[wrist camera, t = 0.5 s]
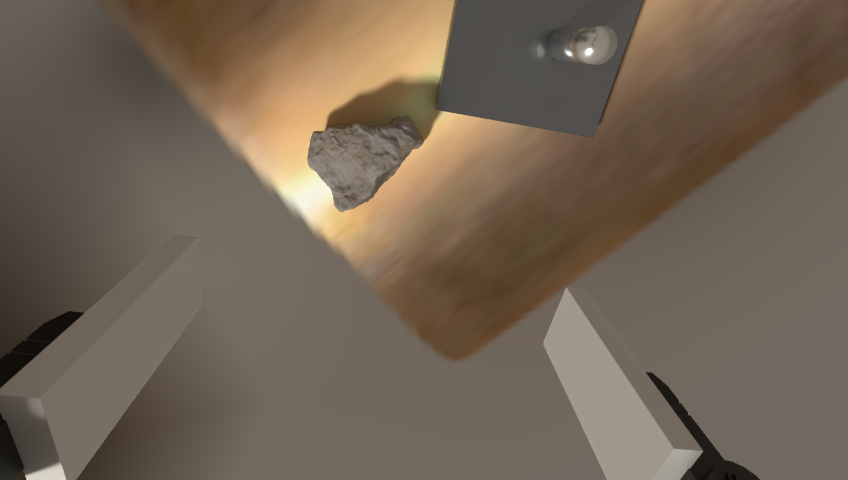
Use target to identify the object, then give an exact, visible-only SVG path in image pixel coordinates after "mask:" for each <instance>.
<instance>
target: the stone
mask: <svg viewBox="0 0 848 480" xmlns="http://www.w3.org/2000/svg"><path fill="white" fill-rule="evenodd" d="M423 142H424V141H423V139H422V137H421V135H420V134H419V133H418V131H417V130H416V128H415V126H414V124H413V122H411V121H410V118H409V116H405V117H398V118H396V119H394V121H393V122H392V123H390V124H388V125H385V126H375V127H370V126H365V125H364V124H361V123H355V124H352V125H350V126H342V125H335V126H331V127H328V128H327V129H326V130H325V131H315V132H313V134H312V136H311V140H310V147H309V150H308V157H307V159H308V164H309V167H310V168H311V169H313V170H314V171H316V172H317V173H318V175H319V176H320V178H321V179H322V180H323V181H324V182H325V183H326V184H327V185H328V186H329V187H330V188H331V190H332V194H333V199H334V206H335V207H336V208H337V209H338V210H339V211H340V212H343V211H345V210H350V209H354V208H356V207H357V206H358V205H360V204H363V203H364V202H368V201H369V200H370V199H372V198H373V196H374V195H375V193H376V192H377V191H378V189H379V187H380V186H381V185H382V184H383V183H384V182H386V181H387V180H388V179H389V178H390V177H391V176H393V175H394V173H395V172H396V169H397V168H399V167H400V165H401V163H402V161H404V160H405V158H406V157H407V156H408V155H409V154H410V152H411V151H412V149H418V148H419V147H420V146H421V145H422V144H423Z"/></svg>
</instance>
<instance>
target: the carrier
mask: <svg viewBox="0 0 848 480" xmlns="http://www.w3.org/2000/svg"><path fill="white" fill-rule="evenodd" d="M642 1H643V0H455V1H454V7H453V12H452V18H451V23H450V29H449V34H448V40H447V45H446V51H445V56H444V61H443V67H442V72H441V78H440V83H439V89H438V94H437V100H436V105H435V108H436V110H441V111H446V112H452V113H457V114H463V115H469V116H474V117H480V118H485V119H491V120H497V121H502V122H508V123H513V124H519V125H525V126H530V127H536V128H541V129H547V130H553V131H558V132H564V133H569V134H575V135H581V136H586V137H592V138H593V137H594V134H595V132H596V129H597V126H598V123H599V121H600V118H601V115H602V112H603V110H604V107H605V104H606V101H607V98H608V96H609V93H610V90H611V87H612V85H613V82H614V79H615V76H616V74H617V71H618V68H619V65H620V62H621V60H622V57H623V54H624V51H625V49H626V46H627V43H628V40H629V37H630V35H631V32H632V29H633V26H634V24H635V21H636V18H637V15H638V13H639V10H640V7H641V4H642Z"/></svg>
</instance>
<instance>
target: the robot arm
mask: <svg viewBox="0 0 848 480" xmlns="http://www.w3.org/2000/svg"><path fill="white" fill-rule="evenodd" d="M198 244H199V243H198V237H191V236H184V235H176V234H173V235H172V236H171V237H170V238H169V239H167V241H165V242H164V243H163V244H162V245H161V246H160V247H158V248H157V249H156V250H155V251H154V252H153V253H152V254H151V255H149V257H147V258H146V259H145V260H144V261H143V262H142V263H141V264H139V265H138V266H137V267H136V268H135V269H134V270H133V271H132V272H130V273H129V274H128V275H127V276H126V277H125V278H124V279H123V280H121V281H120V282H119V283H118V284H117V285H116V286H115V287H114V288H112V289H111V290H110V291H109V292H108V293H107V294H106V295H105V296H103V297H102V298H101V299H100V300H99V301H98V302H97V303H96V304H94V305H93V306H92V307H91V308H90V309H89V310H88V311H87V312H85V313H81V312H71V311H68V312H66V313H64V314H62V315H60V316H58V317H56V318H54V319H52V320H50V321H48V322H46V323H44V324H43V325H42V326H40V327H39V328H38V329H37V330H35V331H34V332H33V333H32V334H31V335H29V336H28V337H27V338H26V341H22V342H21V343H20V344H18V345H17V346H16V347H15V348H13V349H12V350H11V353H10V354H6V355H5V356H4V357H2V358H1V359H0V480H14V479H15V478H16V477H17V476H18V475H19V473H20V472H21V471H22V470H23V471H24V473H25V476H26V479H27V480H76V479H77V477H78V476H79V475H80V473H81V472H82V470H83V469H84V467H85V466H86V465H87V464H88V462H89V461H90V459H91V458H92V457H93V455H94V454H95V452H96V451H97V450H98V448H99V447H100V446H101V444H102V443H103V441H104V440H105V439H106V437H107V436H108V434H109V433H110V432H111V430H112V429H113V427H114V426H115V425H116V423H117V422H118V421H119V419H120V418H121V417H122V415H123V414H124V412H125V411H126V410H127V408H128V407H129V405H130V404H131V403H132V401H133V400H134V399H135V397H136V396H137V394H138V393H139V392H140V390H141V389H142V387H143V386H144V385H145V383H146V382H147V381H148V379H149V378H150V376H151V375H152V374H153V372H154V371H155V369H156V368H157V367H158V365H159V364H160V363H161V361H162V360H163V358H164V357H165V355H166V354H167V353H168V351H169V350H170V349H171V347H172V346H173V345H174V343H175V342H176V340H177V339H178V338H179V336H180V335H181V333H182V332H183V331H184V329H185V328H186V327H187V325H188V324H189V322H190V321H191V320H192V318H193V317H194V316H195V314H196V313H197V311H198V310H199V309H200V307H201V305H202V290H201V274H200V259H199V245H198ZM543 344H544V346H545V349H546V351H547V353H548V355H549V357H550V359H551V361H552V363H553V365H554V368H555V370H556V372H557V374H558V376H559V378H560V380H561V383H562V385H563V387H564V389H565V391H566V393H567V395H568V397H569V399H570V402H571V404H572V406H573V408H574V410H575V412H576V414H577V417H578V419H579V421H580V423H581V425H582V427H583V429H584V432H585V434H586V436H587V438H588V440H589V442H590V444H591V446H592V449H593V451H594V453H595V455H596V457H597V459H598V461H599V463H600V466H601V468H602V470H603V472H604V474H605V476H606V478H607V480H760V479H759V478H758V477H757V476H756V475H754V474H753V473H751V472H750V471H749V470H747V469H746V468H744V467H743V466H740V465H738V464H736V463H734V462H731V461H726V460H724V459H723V458H722V456H721V455H720V454H719V452H718V451H717V450H716V448H715V447H714V446H713V445H712V443H711V442H710V441H709V439H708V438H707V437H706V436H705V434H704V433H703V431H702V430H701V429H700V428H699V426H698V425H697V424H696V422H695V421H694V420H693V419H692V418H691V416H689V415H688V412H687V411H686V409H685V408H684V407H683V405H682V404H680V403H679V401H678V399H677V398H676V396H675V395H674V394H673V392H672V391H671V390H670V389H669V387H668V386H667V385H666V384H665V383H663V382H662V381H661V380H660V379H659V378H658V377H656V376H655V375H654V374H653V373H648V372H645V371H644V369H643V368H642V367H641V365H640V364H639V363H638V361H637V360H636V358H635V357H634V356H633V354H632V353H631V352H630V350H629V349H628V348H627V346H626V345H625V343H624V342H623V341H622V340H621V338H620V337H619V335H618V334H617V333H616V331H615V330H614V328H613V327H612V326H611V324H610V323H609V322H608V320H607V319H606V318H605V316H604V315H603V314H602V312H601V311H600V309H599V308H598V307H597V305H596V304H595V303H594V301H593V300H592V299H591V297H590V296H589V295H588V293H587V292H586V291H585V290H582V289H575V288H568V287H566V289H565V292H564V295H563V297H562V299H561V301H560V304H559V306H558V309H557V311H556V313H555V316H554V318H553V321H552V323H551V325H550V328H549V331H548V333H547V335H546V338H545V340H544V342H543Z"/></svg>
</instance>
